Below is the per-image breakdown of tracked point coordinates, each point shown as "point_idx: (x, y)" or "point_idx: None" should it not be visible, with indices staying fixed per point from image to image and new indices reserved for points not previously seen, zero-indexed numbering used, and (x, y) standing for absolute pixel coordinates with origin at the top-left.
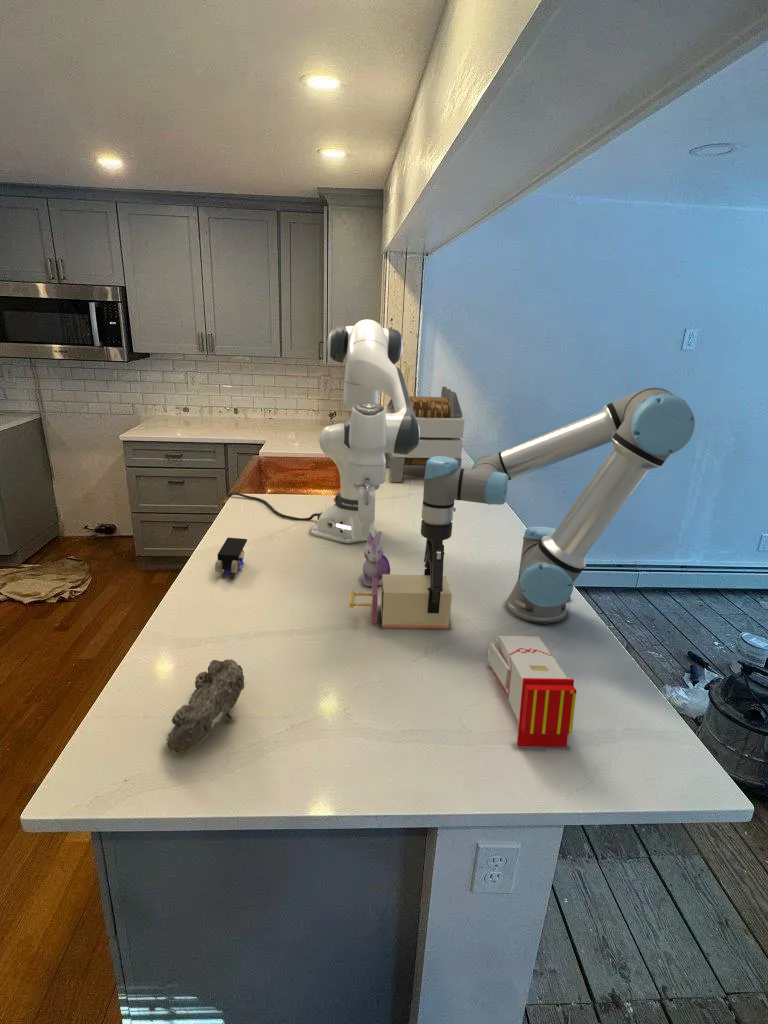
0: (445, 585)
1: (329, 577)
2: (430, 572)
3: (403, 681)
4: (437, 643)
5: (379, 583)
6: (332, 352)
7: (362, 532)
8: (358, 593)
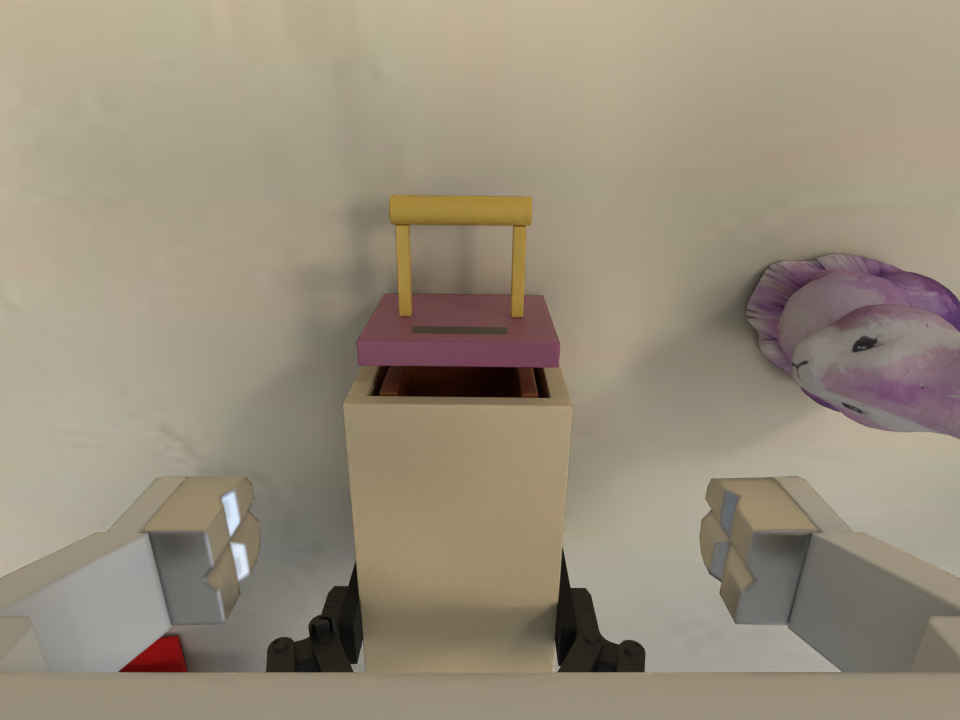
0: (447, 668)
1: (903, 62)
2: (558, 636)
3: (34, 386)
4: (290, 512)
5: (762, 339)
6: None
7: (140, 508)
8: (515, 247)
